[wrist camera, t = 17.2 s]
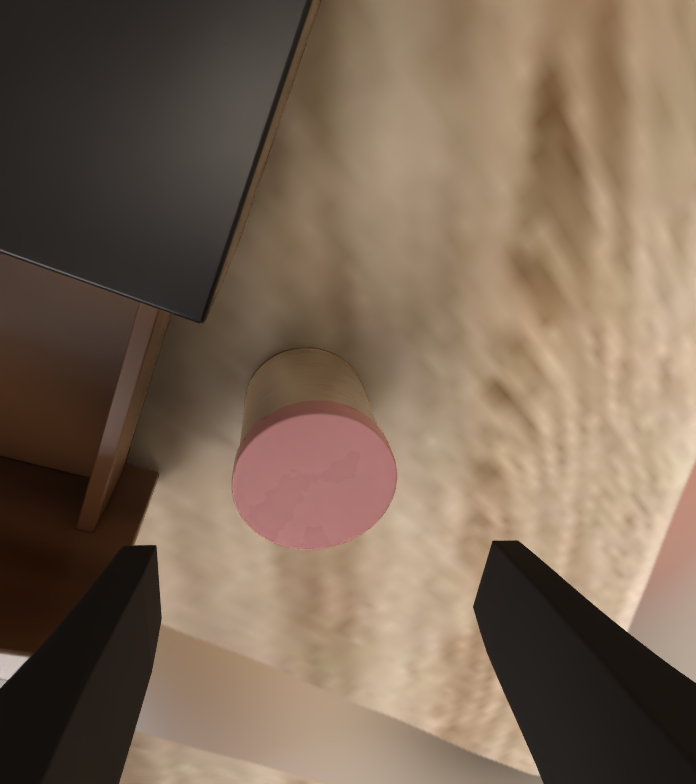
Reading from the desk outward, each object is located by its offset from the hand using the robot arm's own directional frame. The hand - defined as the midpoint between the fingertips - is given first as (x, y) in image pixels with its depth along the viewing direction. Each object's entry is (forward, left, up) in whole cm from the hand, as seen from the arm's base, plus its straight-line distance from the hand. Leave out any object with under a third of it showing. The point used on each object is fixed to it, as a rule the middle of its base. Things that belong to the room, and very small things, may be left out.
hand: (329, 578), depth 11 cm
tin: (0, 0, -9) cm, 9 cm away
